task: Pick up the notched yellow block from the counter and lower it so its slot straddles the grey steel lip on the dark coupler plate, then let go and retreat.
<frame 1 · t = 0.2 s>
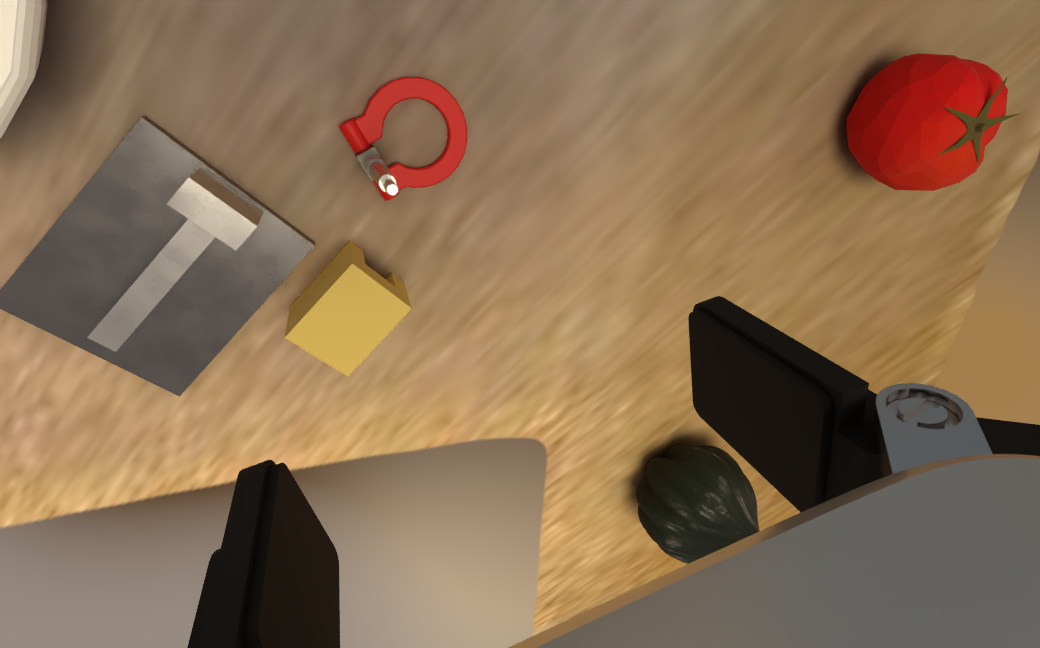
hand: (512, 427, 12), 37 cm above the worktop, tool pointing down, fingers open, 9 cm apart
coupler: (165, 269, 41), on the worktop
tow hook: (409, 135, 43), on the worktop
squash: (668, 470, 72), on the worktop
notched yellow block: (347, 294, 47), on the worktop
tomato: (870, 119, 56), on the worktop
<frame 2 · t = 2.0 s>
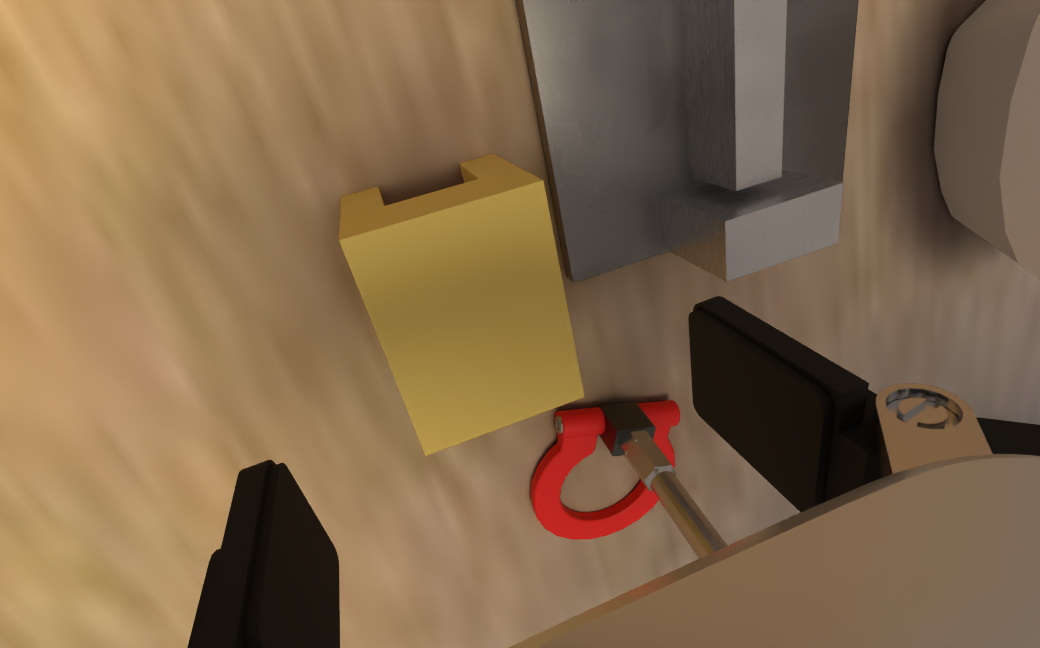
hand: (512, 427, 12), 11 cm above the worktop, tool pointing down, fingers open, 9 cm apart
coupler: (693, 14, 20), on the worktop
bowl: (1021, 87, 27), on the worktop
tow hook: (599, 465, 29), on the worktop
notched yellow block: (447, 269, 22), on the worktop
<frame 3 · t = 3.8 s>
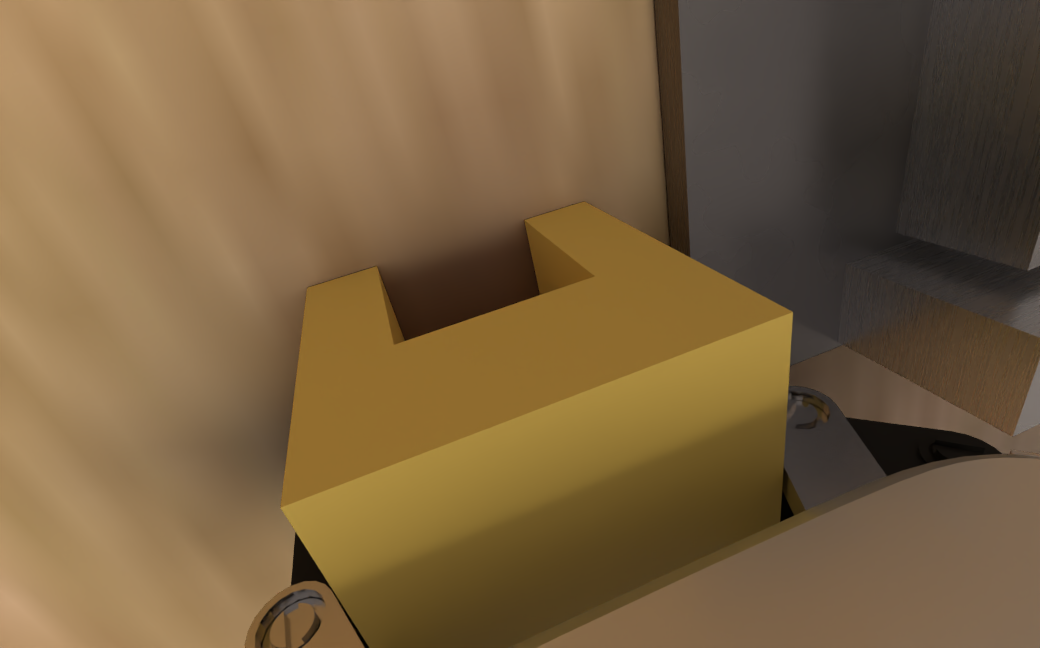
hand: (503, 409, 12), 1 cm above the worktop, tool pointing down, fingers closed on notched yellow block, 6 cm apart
notched yellow block: (496, 393, 13), on the worktop, touching gripper
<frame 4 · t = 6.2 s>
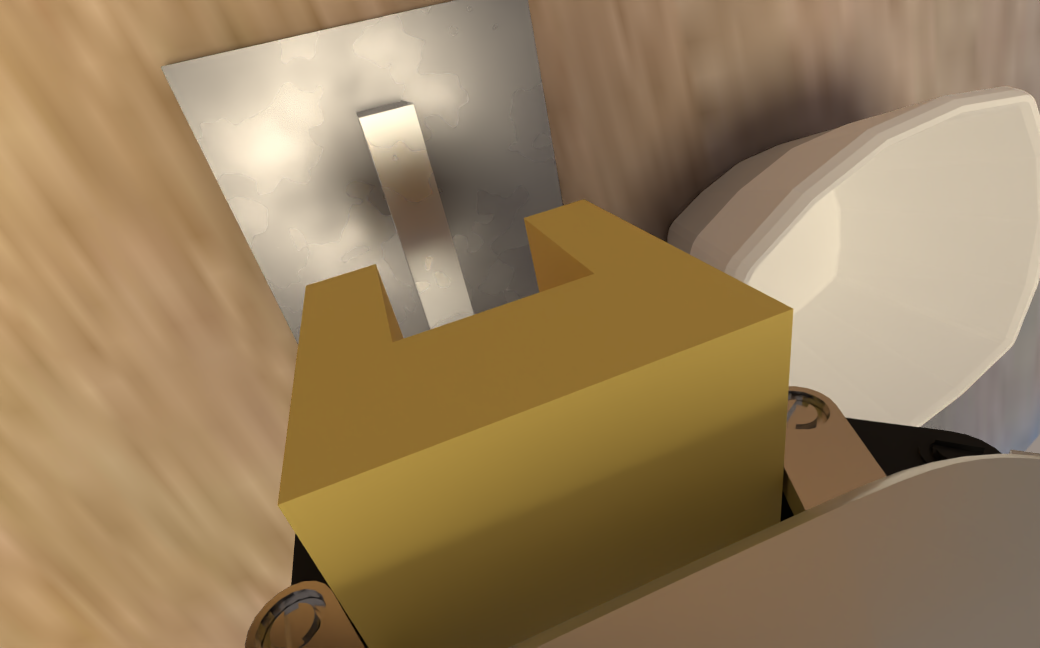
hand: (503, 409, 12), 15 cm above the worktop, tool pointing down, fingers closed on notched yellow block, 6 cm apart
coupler: (421, 237, 25), on the worktop
bowl: (754, 251, 32), on the worktop
notched yellow block: (495, 392, 13), point 14 cm above the worktop, touching gripper
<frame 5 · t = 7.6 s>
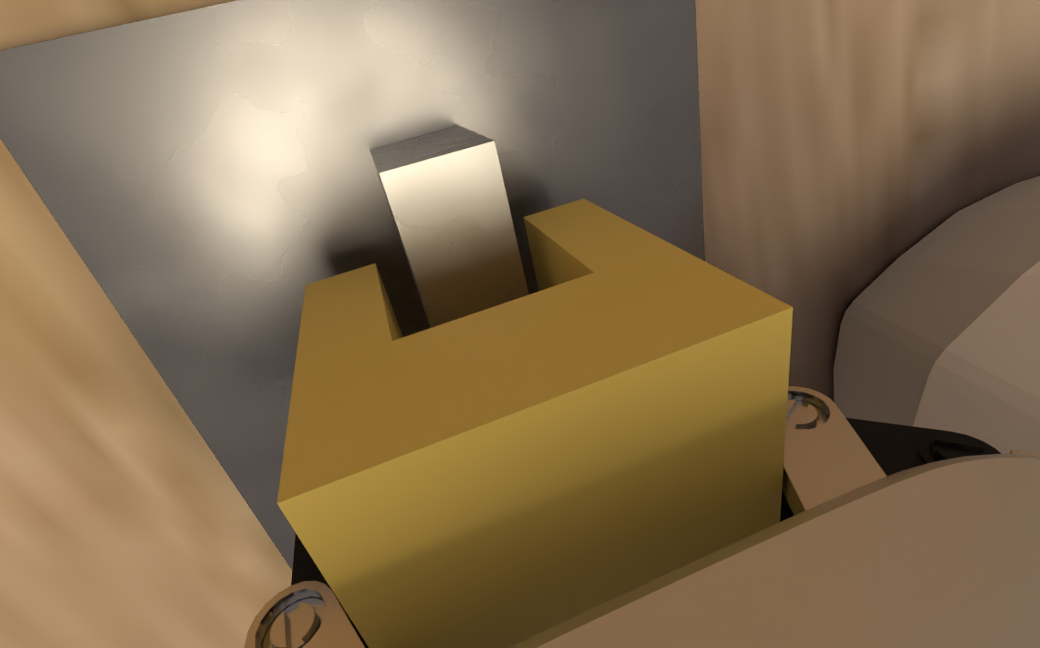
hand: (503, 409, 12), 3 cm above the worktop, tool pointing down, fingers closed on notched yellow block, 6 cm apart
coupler: (474, 349, 15), on the worktop
bowl: (944, 333, 22), on the worktop
notched yellow block: (495, 391, 13), point 2 cm above the worktop, touching gripper
when the fingers open (2 cm above the worktop, at t = 8.6 s): notched yellow block stays where it is, resting on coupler.
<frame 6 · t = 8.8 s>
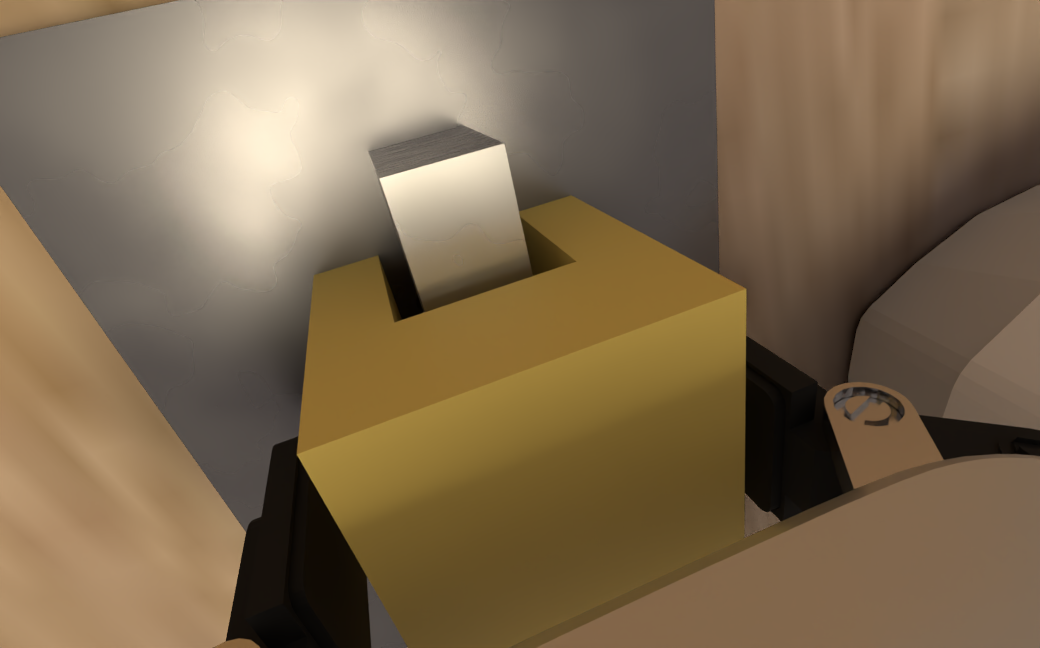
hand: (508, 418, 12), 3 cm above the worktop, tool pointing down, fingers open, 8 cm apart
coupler: (478, 360, 14), on the worktop
bowl: (960, 339, 21), on the worktop
notched yellow block: (490, 376, 14), point 1 cm above the worktop, touching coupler
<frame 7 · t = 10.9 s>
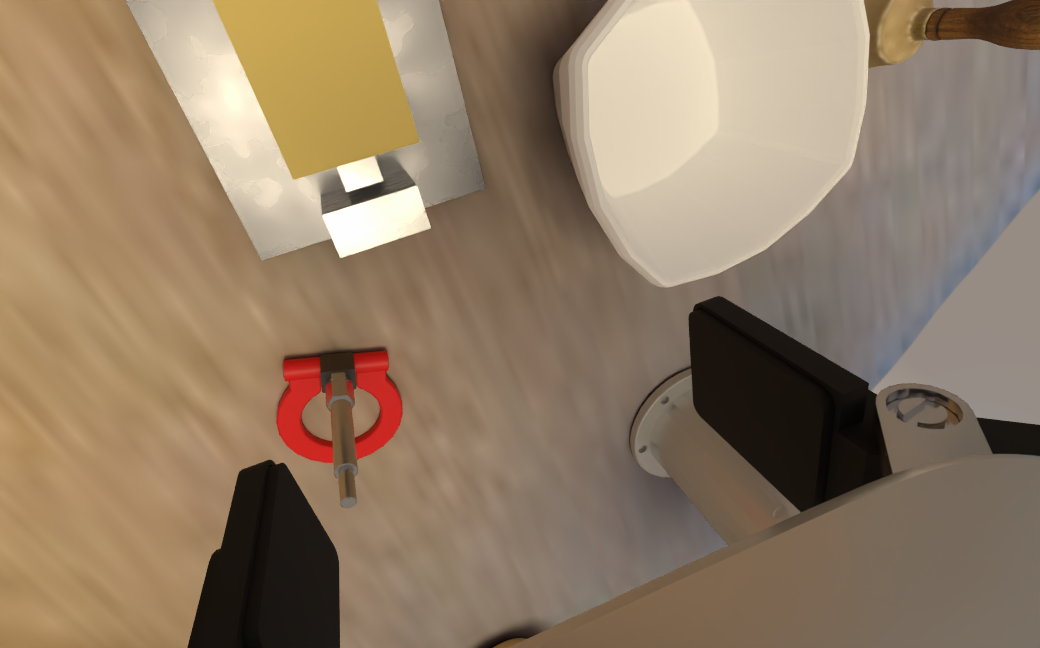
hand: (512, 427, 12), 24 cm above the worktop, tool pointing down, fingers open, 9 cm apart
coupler: (317, 60, 28), on the worktop
bowl: (640, 102, 35), on the worktop
tow hook: (341, 403, 38), on the worktop
notched yellow block: (320, 62, 27), point 1 cm above the worktop, touching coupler
hand bell: (833, 28, 37), on the worktop
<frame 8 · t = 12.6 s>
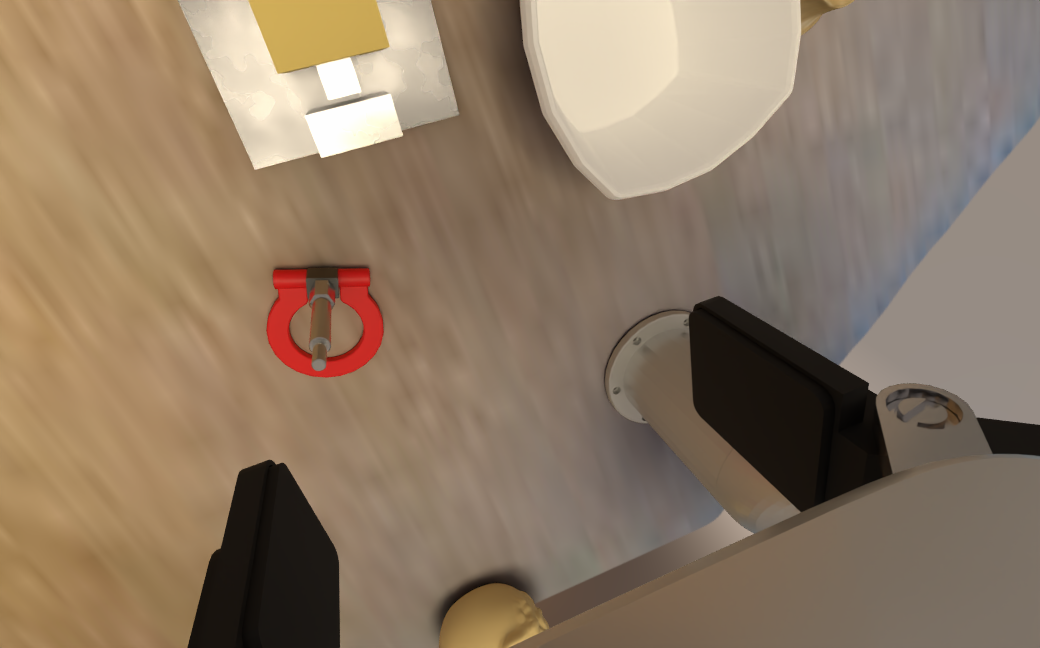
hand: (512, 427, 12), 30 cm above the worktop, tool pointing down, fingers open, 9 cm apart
sculpture: (484, 603, 61), on the worktop
bowl: (604, 44, 38), on the worktop
tow hook: (327, 320, 41), on the worktop
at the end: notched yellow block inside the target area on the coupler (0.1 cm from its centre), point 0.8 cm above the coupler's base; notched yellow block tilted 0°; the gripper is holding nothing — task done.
